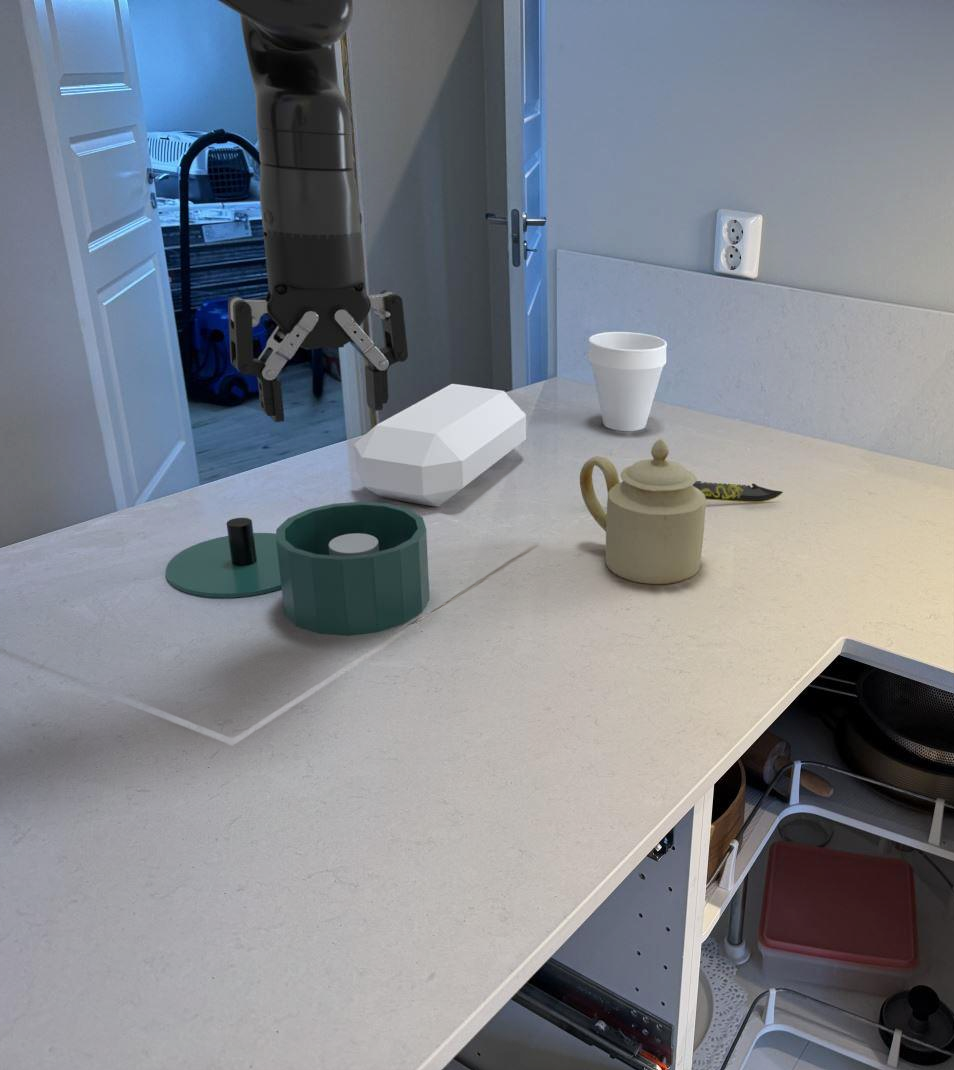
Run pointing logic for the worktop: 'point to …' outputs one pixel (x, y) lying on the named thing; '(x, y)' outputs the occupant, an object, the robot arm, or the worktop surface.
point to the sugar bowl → (649, 518)
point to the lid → (228, 564)
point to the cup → (626, 376)
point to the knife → (736, 492)
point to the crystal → (439, 444)
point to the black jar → (353, 545)
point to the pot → (353, 569)
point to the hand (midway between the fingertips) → (327, 413)
